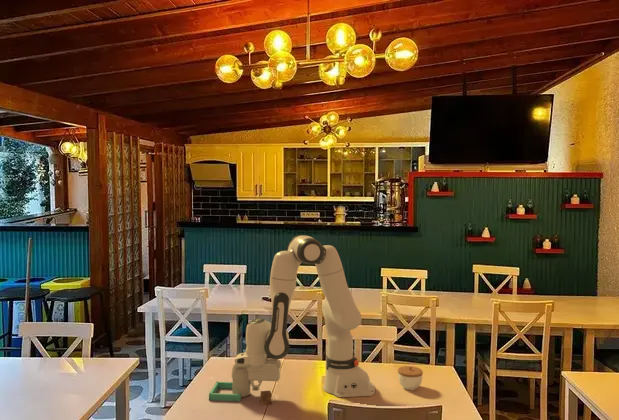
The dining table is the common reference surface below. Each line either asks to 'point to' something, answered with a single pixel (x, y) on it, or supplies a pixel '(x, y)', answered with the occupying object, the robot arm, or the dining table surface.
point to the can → (241, 382)
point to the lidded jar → (410, 377)
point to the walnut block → (265, 397)
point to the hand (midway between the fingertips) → (255, 390)
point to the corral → (223, 397)
